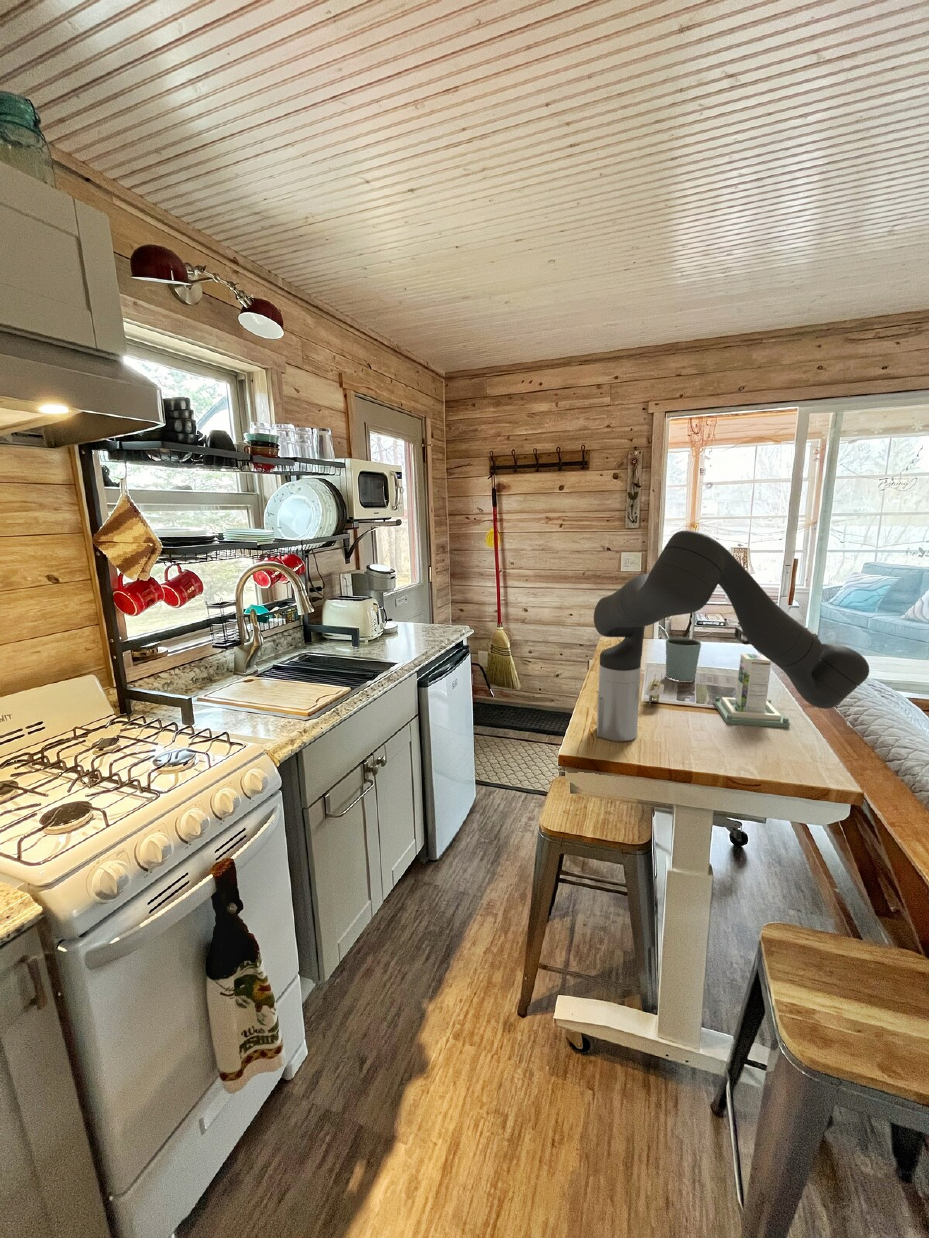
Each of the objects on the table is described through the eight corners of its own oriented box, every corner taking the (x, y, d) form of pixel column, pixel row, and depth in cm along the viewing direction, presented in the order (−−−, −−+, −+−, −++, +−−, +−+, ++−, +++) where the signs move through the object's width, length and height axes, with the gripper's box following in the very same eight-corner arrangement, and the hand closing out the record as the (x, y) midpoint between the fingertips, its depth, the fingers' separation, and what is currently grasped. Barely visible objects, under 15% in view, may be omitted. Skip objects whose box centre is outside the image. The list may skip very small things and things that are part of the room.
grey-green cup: (657, 678, 165) (659, 641, 162) (672, 671, 172) (675, 635, 169) (689, 685, 158) (692, 647, 155) (703, 678, 164) (706, 641, 162)
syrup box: (734, 705, 138) (739, 652, 135) (758, 707, 137) (764, 653, 134) (740, 714, 133) (746, 659, 130) (766, 715, 131) (772, 660, 128)
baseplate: (726, 723, 130) (727, 714, 130) (713, 703, 143) (714, 694, 143) (789, 727, 127) (790, 718, 126) (769, 706, 140) (770, 698, 140)
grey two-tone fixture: (680, 697, 149) (681, 675, 148) (674, 720, 134) (675, 696, 132) (636, 691, 155) (637, 670, 153) (625, 713, 139) (627, 689, 137)
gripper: (749, 664, 102) (726, 642, 118) (830, 668, 100) (797, 644, 115) (753, 627, 101) (730, 609, 116) (836, 630, 98) (801, 611, 113)
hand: (763, 627), depth 116 cm, fingers open, 8 cm apart
